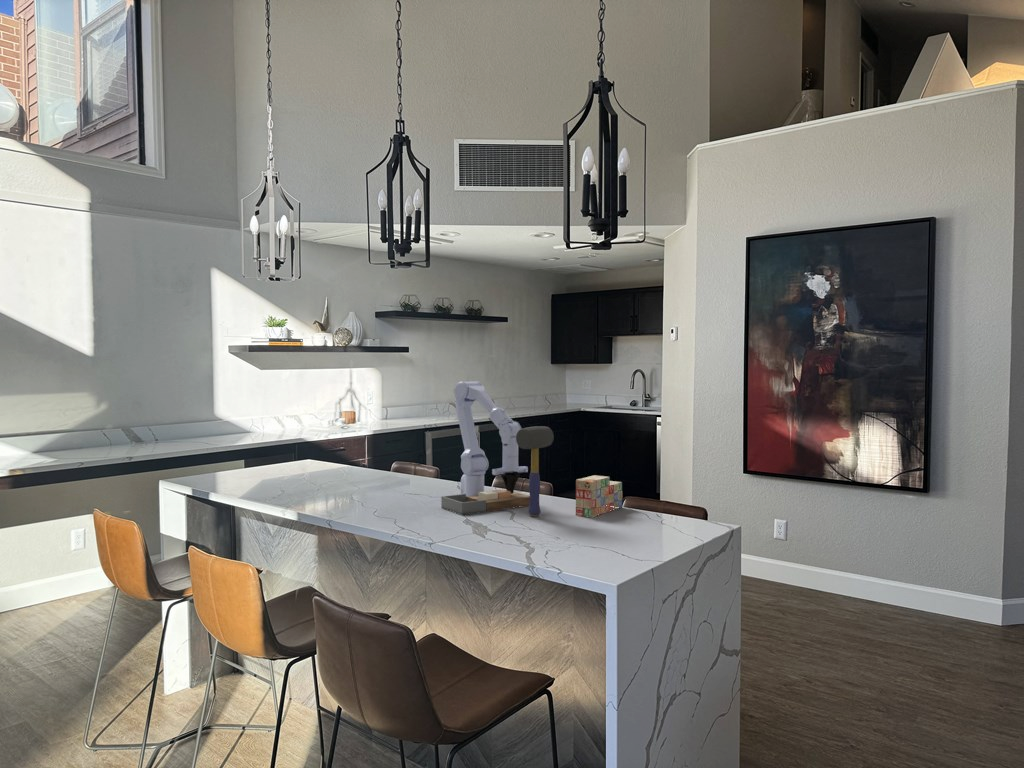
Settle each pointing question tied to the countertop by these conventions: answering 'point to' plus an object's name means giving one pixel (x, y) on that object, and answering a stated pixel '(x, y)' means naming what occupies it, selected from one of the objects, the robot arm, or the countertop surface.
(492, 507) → the wooden serving tray
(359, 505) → the countertop surface
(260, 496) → the countertop surface
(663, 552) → the countertop surface
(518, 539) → the countertop surface
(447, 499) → the bin
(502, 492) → the tile back
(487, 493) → the tile front
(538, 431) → the rubber mallet
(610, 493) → the stack of blocks
